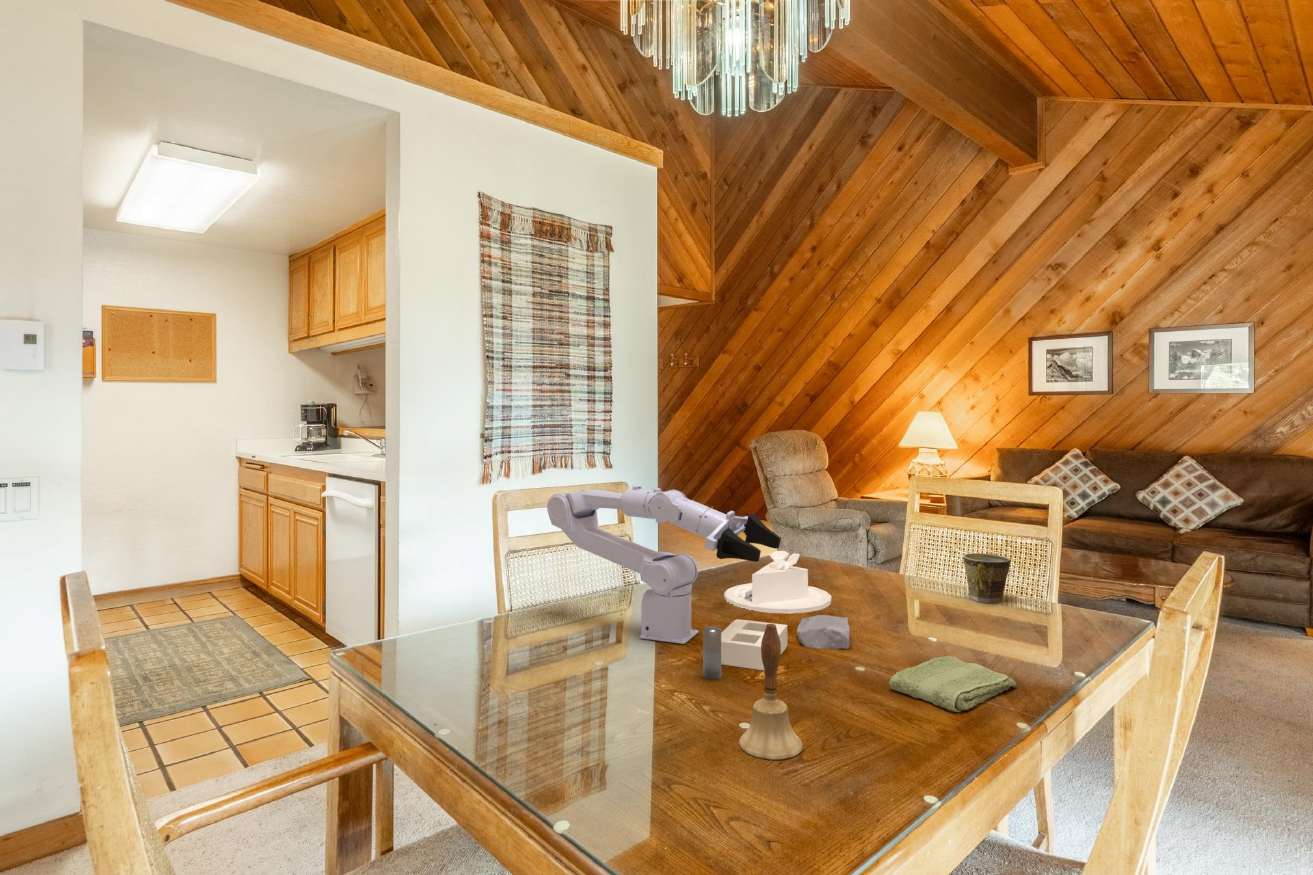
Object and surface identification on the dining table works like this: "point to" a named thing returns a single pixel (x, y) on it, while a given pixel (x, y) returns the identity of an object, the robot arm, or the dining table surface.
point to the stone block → (824, 632)
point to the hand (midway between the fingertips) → (769, 549)
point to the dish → (779, 589)
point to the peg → (712, 653)
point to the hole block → (747, 643)
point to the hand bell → (770, 711)
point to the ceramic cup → (986, 576)
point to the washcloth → (950, 683)
